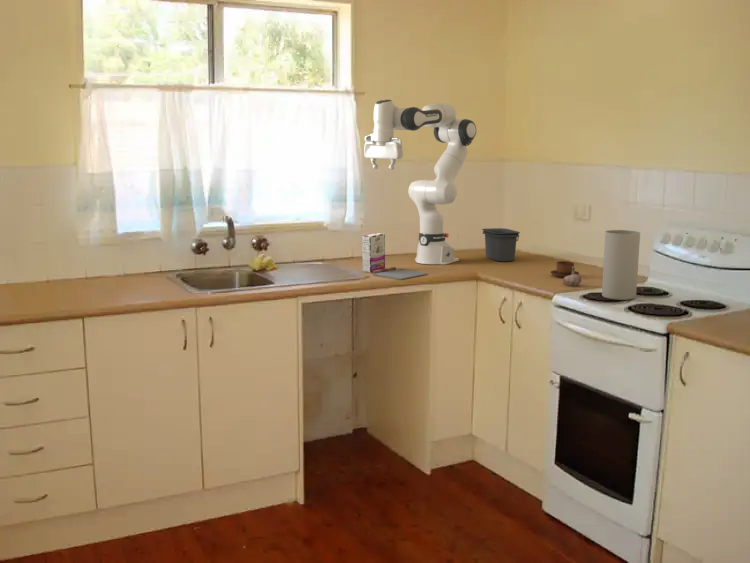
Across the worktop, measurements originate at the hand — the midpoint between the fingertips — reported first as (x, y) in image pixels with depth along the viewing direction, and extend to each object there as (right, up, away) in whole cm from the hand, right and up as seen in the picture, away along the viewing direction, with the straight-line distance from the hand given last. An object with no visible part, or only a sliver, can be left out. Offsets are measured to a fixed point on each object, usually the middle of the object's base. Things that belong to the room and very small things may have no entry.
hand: (383, 169), depth 360 cm
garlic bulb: (+77, -52, -27) cm, 96 cm away
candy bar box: (-4, -45, +6) cm, 46 cm away
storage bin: (+59, -39, +41) cm, 81 cm away
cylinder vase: (+89, -56, -50) cm, 116 cm away
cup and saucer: (+79, -48, -6) cm, 93 cm away
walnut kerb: (+1, -46, +1) cm, 46 cm away
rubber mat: (+8, -47, -5) cm, 48 cm away
